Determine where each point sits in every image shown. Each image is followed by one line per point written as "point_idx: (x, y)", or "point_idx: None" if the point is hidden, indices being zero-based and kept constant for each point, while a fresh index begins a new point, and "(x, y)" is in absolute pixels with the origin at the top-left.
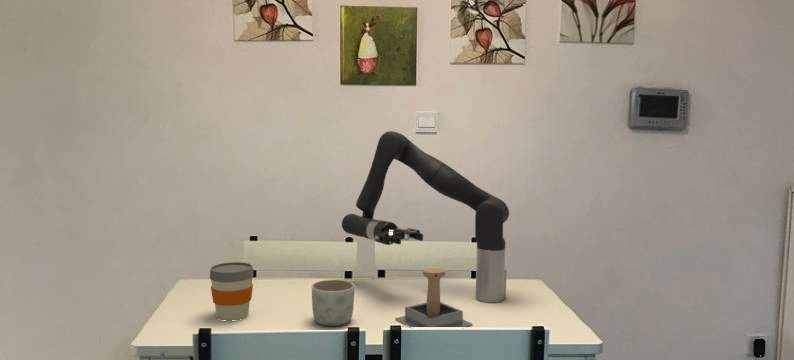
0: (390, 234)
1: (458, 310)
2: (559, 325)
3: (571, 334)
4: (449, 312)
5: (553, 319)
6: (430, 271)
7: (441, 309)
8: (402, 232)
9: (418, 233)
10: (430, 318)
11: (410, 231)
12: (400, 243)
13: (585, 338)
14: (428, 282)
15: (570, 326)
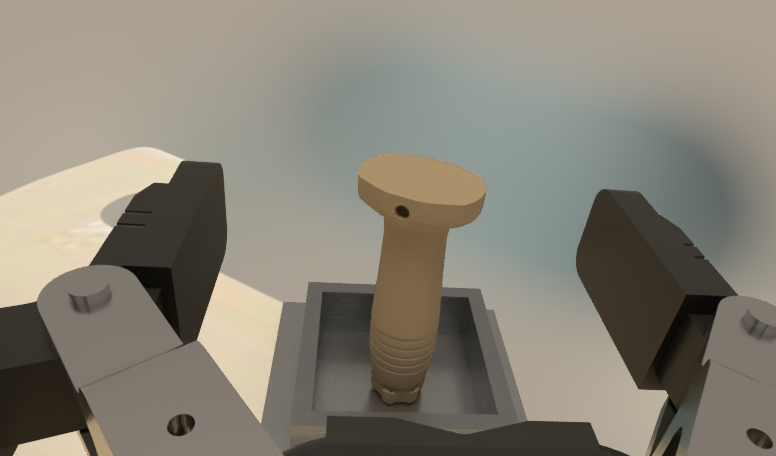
0: (763, 364)
1: (316, 293)
2: (65, 205)
3: (122, 175)
4: (318, 348)
5: (11, 229)
6: (450, 177)
7: (314, 396)
8: (344, 447)
9: (205, 189)
10: (475, 291)
11: (148, 348)
12: (582, 256)
13: (127, 158)
14: (445, 242)
15: (53, 192)
